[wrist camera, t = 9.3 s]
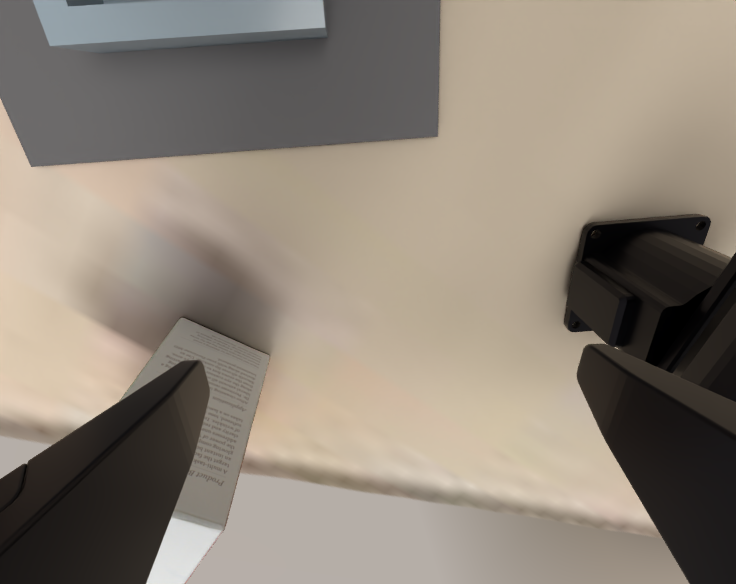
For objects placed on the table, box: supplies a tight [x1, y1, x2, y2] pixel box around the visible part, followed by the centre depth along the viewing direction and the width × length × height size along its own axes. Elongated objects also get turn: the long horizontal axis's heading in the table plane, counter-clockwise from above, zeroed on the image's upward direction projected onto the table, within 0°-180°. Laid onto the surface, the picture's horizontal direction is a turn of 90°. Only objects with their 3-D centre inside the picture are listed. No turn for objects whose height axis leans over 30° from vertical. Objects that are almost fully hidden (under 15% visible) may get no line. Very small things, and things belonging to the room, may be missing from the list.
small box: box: [120, 318, 270, 584], centre depth 19 cm, size 8×6×10 cm
